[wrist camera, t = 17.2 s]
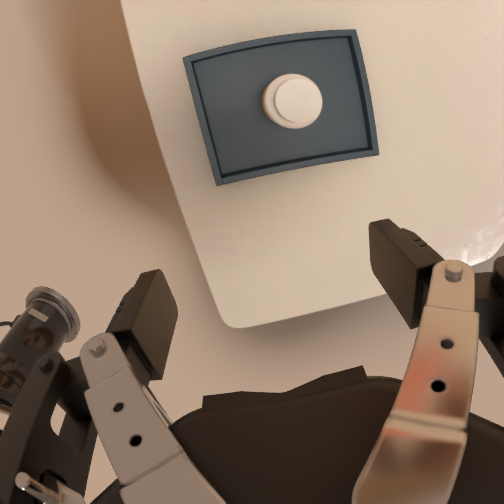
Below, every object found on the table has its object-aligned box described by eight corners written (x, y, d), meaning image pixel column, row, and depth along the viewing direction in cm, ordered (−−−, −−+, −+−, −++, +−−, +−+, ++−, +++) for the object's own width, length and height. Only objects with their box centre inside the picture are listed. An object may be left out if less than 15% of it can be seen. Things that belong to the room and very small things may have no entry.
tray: (218, 181, 36) (216, 186, 34) (186, 60, 28) (182, 57, 27) (372, 152, 34) (379, 155, 32) (350, 32, 27) (356, 29, 25)
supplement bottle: (302, 76, 29) (323, 65, 21) (312, 120, 32) (336, 125, 23) (256, 84, 30) (259, 75, 21) (266, 128, 32) (274, 137, 24)
